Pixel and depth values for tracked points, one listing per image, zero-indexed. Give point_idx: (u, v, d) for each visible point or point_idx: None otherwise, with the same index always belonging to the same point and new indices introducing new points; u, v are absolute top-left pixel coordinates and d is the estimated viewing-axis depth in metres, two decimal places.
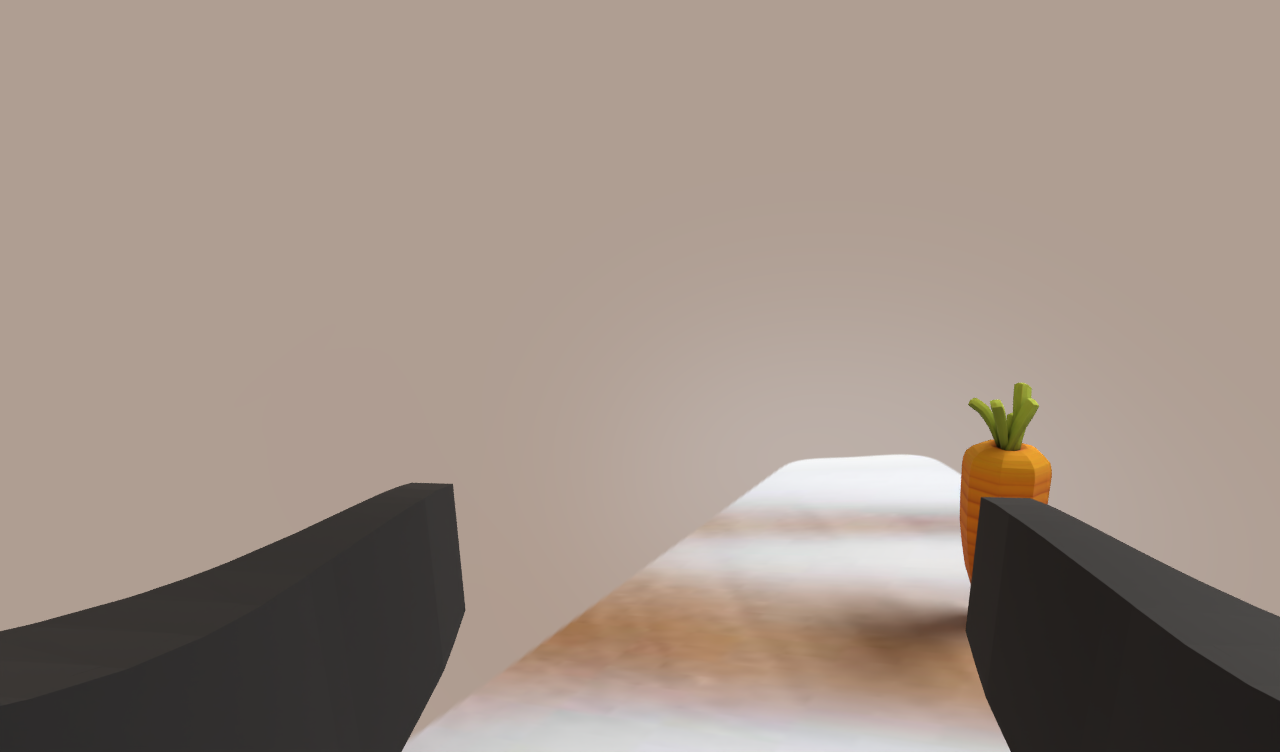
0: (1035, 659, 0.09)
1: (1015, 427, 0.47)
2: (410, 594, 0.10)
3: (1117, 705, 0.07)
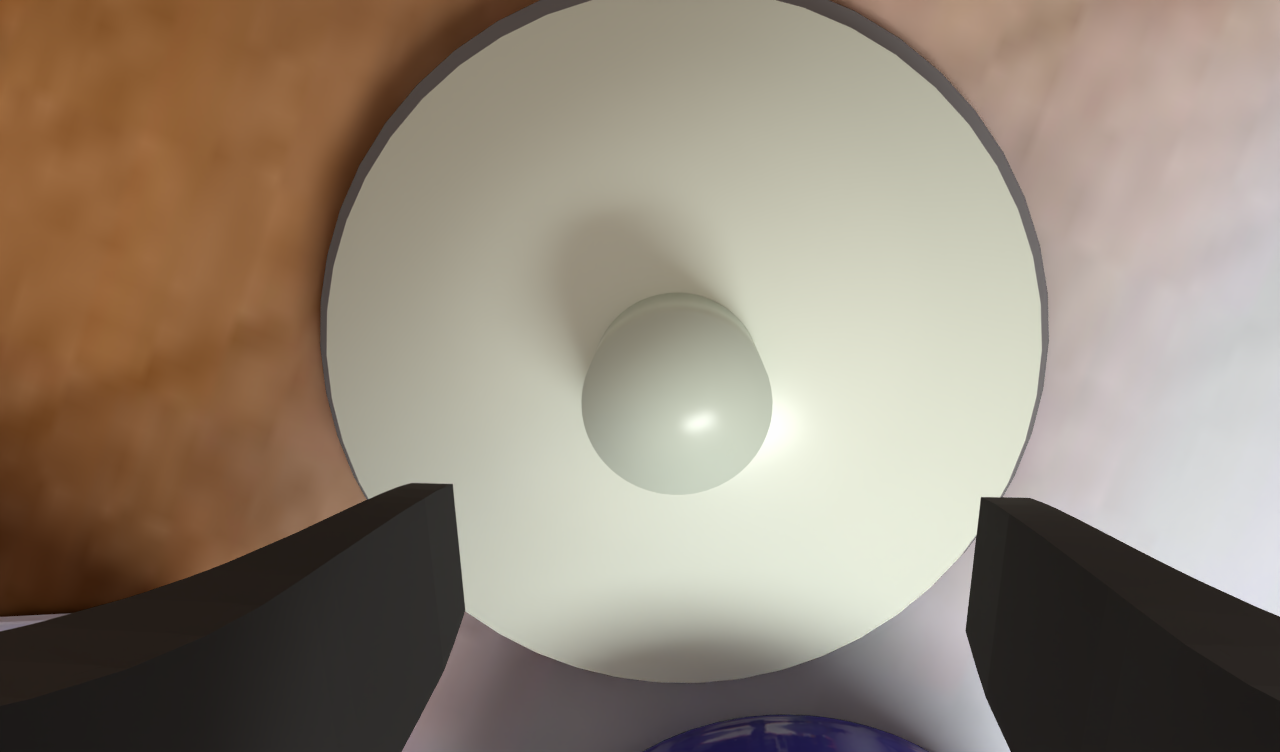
0: (1033, 659, 0.09)
1: None
2: (410, 594, 0.10)
3: (1117, 705, 0.07)
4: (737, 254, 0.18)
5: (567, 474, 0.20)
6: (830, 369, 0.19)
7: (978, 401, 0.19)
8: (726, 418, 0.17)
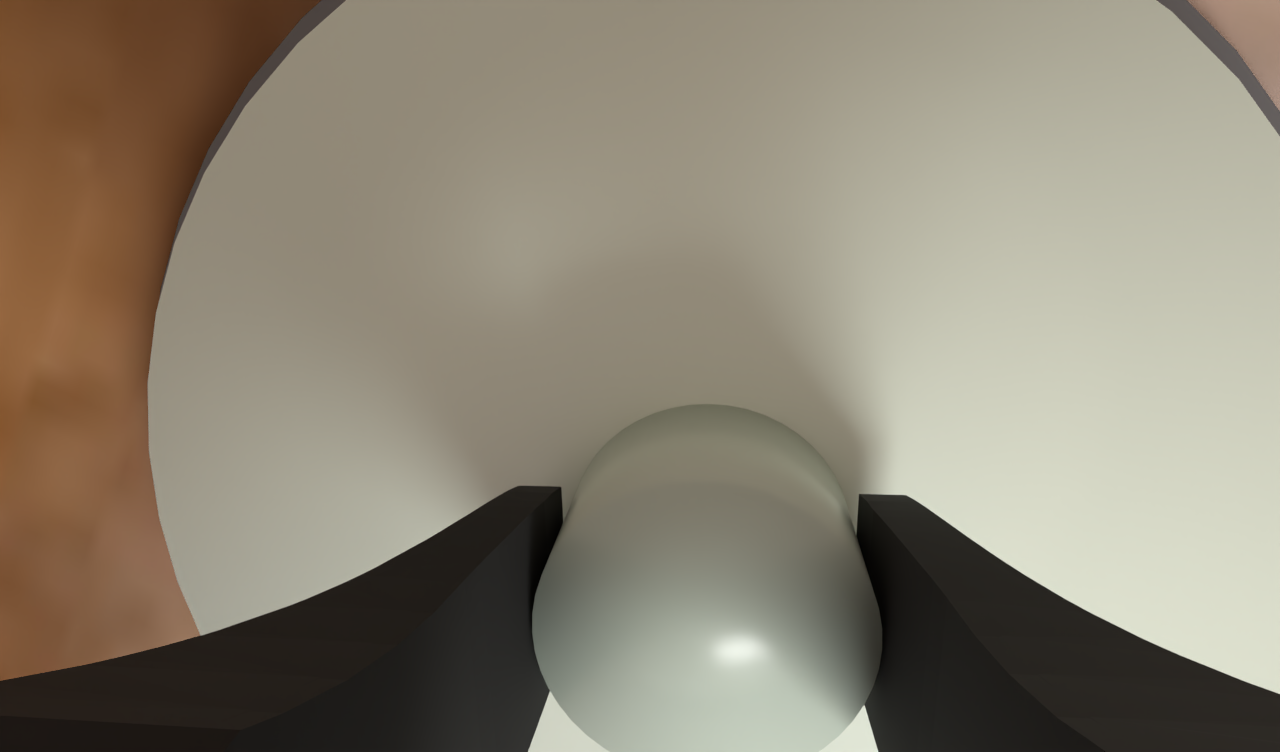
0: (889, 652, 0.09)
1: None
2: (533, 599, 0.10)
3: (938, 695, 0.07)
4: (831, 351, 0.11)
5: None
6: None
7: (1219, 624, 0.11)
8: (792, 670, 0.09)
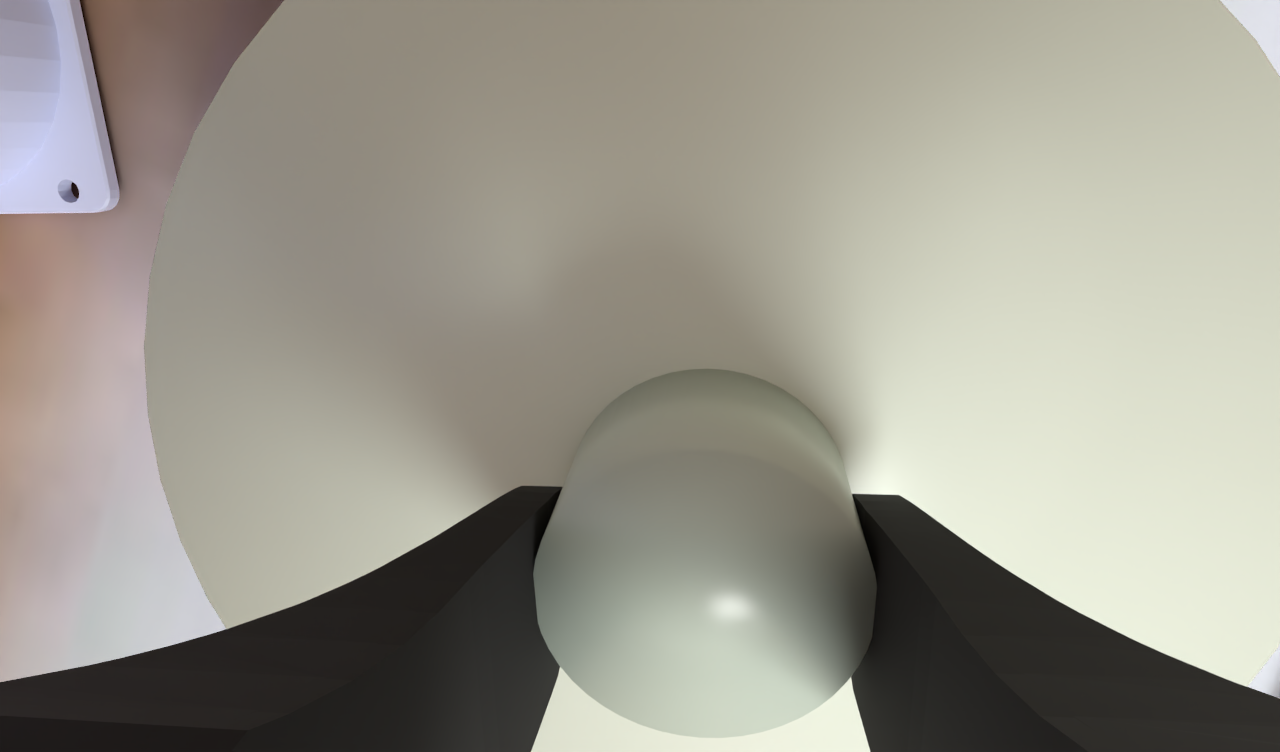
0: (881, 653, 0.09)
1: None
2: None
3: (928, 695, 0.07)
4: (831, 316, 0.11)
5: None
6: (965, 513, 0.11)
7: (1209, 586, 0.11)
8: (788, 634, 0.09)
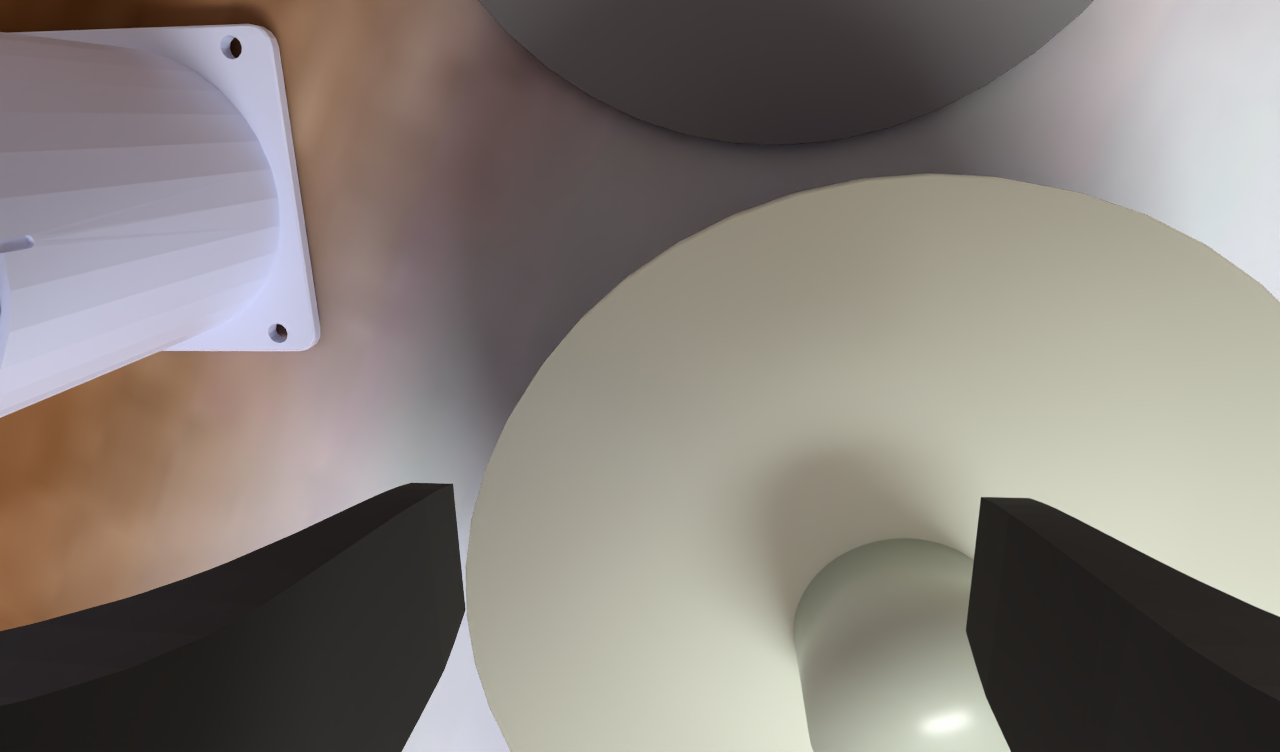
0: (1034, 659, 0.09)
1: None
2: (410, 594, 0.10)
3: (1117, 705, 0.07)
4: None
5: (744, 724, 0.16)
6: None
7: None
8: (994, 744, 0.13)
